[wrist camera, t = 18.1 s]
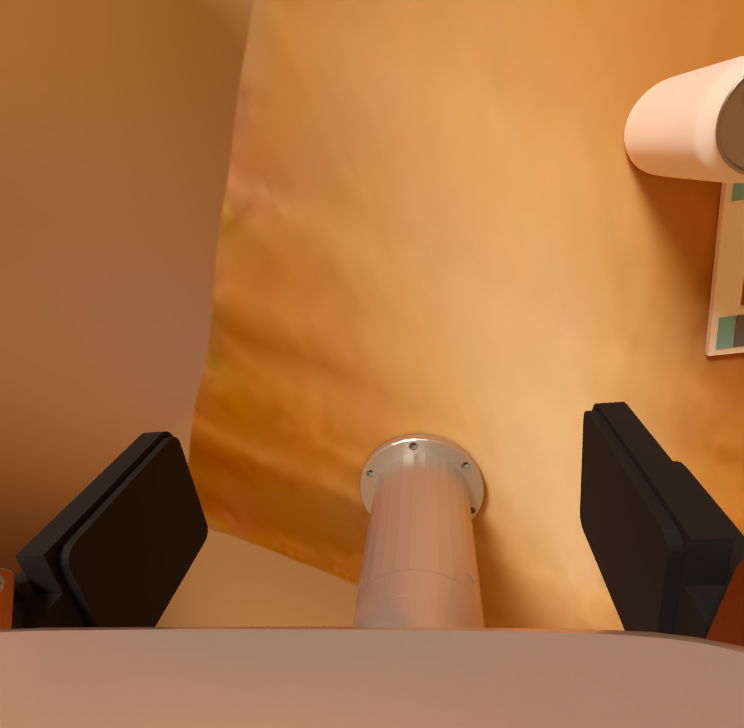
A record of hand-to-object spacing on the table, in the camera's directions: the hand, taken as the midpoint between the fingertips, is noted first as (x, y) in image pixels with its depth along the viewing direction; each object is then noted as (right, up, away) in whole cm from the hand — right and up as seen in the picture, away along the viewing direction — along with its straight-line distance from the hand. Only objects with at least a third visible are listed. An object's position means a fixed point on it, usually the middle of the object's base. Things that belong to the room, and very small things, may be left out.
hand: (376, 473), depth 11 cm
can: (+22, +20, +24) cm, 38 cm away
